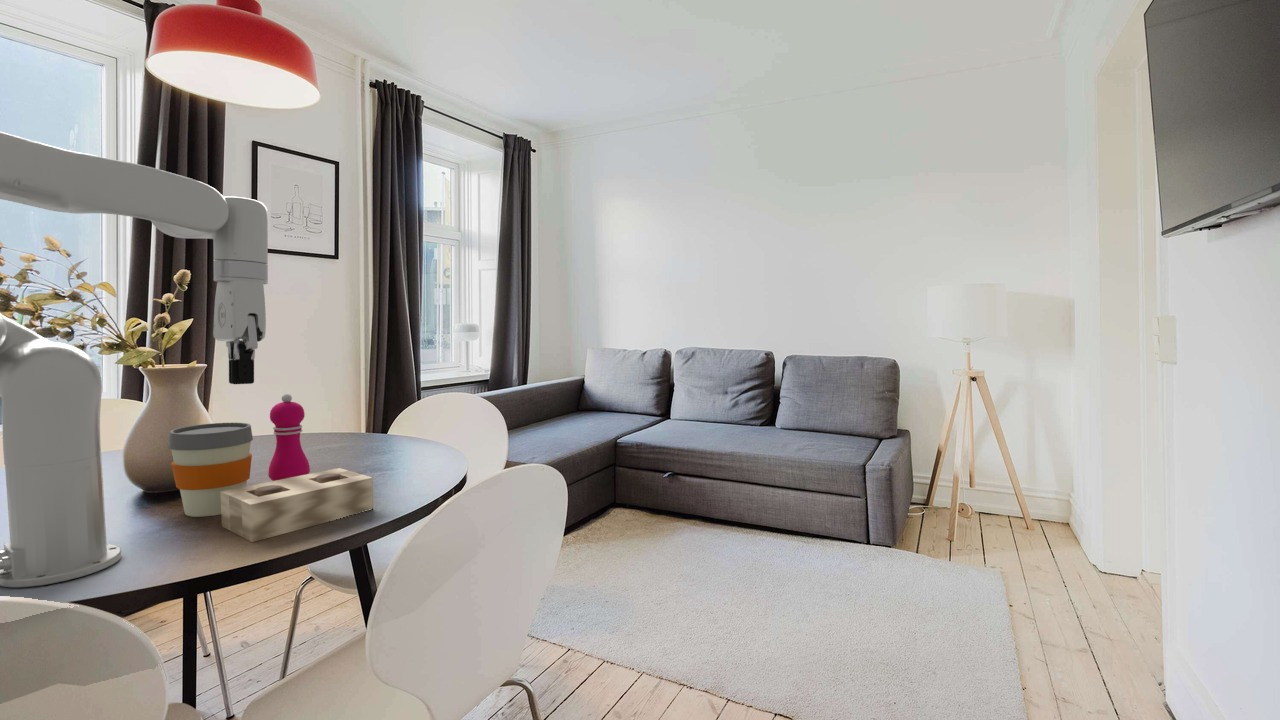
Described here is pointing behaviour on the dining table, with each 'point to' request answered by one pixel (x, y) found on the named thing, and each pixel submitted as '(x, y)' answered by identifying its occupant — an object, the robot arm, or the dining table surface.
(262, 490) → the near walnut peg
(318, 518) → the oak socket block
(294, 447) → the pepper mill
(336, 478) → the far walnut peg
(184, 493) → the reusable coffee cup
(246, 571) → the dining table surface
